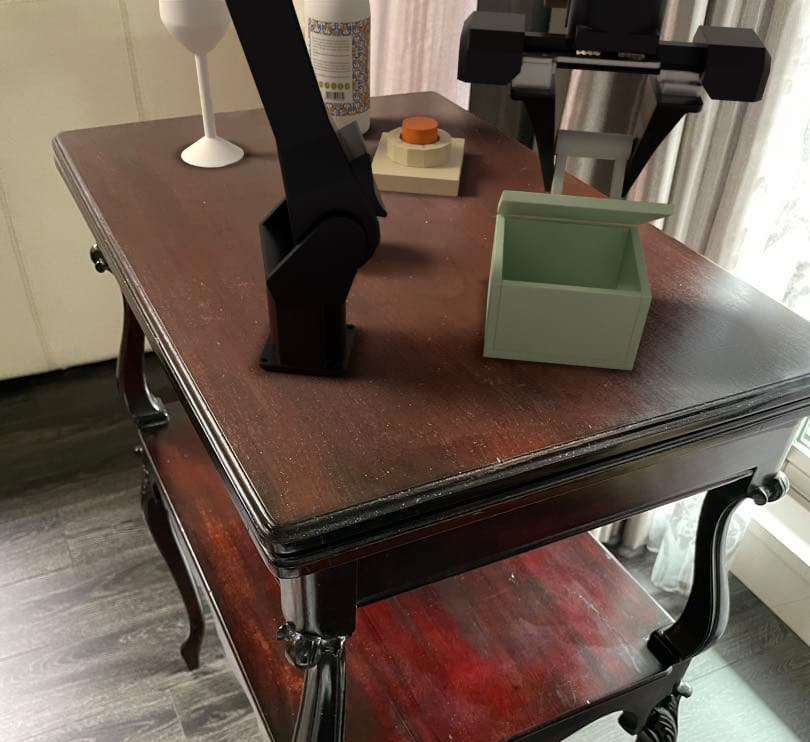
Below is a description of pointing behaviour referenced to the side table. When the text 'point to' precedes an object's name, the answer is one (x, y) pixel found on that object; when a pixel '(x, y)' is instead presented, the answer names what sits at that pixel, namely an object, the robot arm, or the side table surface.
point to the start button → (419, 131)
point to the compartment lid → (586, 207)
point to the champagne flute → (202, 69)
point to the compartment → (566, 292)
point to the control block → (418, 164)
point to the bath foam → (341, 57)
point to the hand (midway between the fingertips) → (584, 192)
